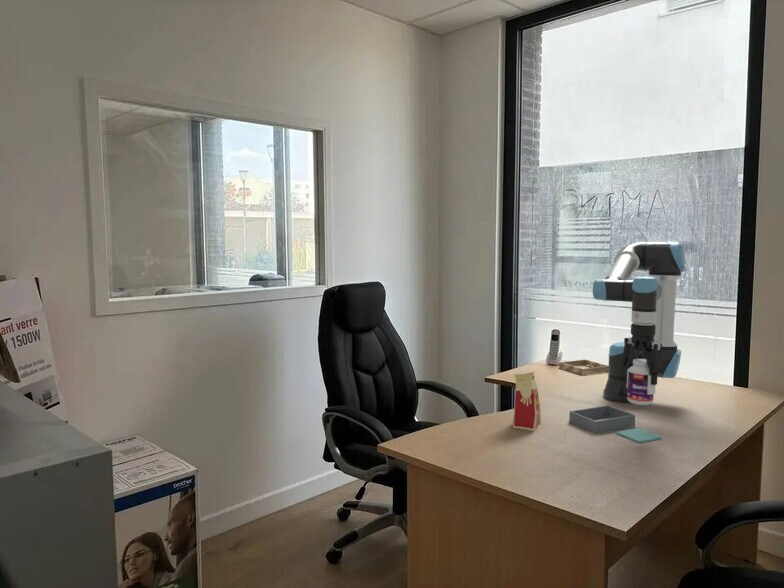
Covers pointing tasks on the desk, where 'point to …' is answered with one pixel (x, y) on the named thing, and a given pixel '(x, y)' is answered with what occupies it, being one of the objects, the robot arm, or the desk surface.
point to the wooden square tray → (571, 367)
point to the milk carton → (526, 403)
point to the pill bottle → (639, 383)
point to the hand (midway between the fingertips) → (640, 390)
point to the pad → (639, 435)
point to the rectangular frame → (616, 422)
